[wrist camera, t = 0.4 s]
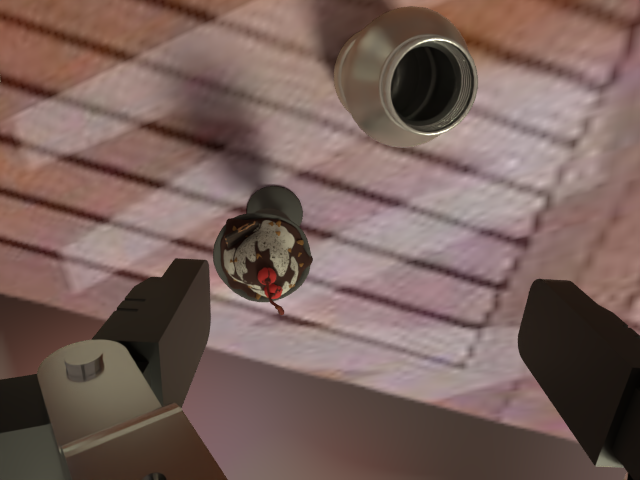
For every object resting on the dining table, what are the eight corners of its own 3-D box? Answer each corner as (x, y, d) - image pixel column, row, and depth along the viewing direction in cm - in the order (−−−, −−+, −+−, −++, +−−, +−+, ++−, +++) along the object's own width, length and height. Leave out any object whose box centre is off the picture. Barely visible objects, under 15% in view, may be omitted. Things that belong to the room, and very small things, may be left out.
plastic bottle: (332, 118, 38) (347, 175, 19) (332, 28, 35) (350, -10, 16) (410, 118, 38) (503, 174, 19) (416, 27, 35) (529, -11, 17)
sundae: (308, 251, 42) (304, 346, 28) (235, 243, 42) (193, 335, 28) (317, 181, 39) (318, 247, 26) (239, 171, 39) (197, 233, 25)
